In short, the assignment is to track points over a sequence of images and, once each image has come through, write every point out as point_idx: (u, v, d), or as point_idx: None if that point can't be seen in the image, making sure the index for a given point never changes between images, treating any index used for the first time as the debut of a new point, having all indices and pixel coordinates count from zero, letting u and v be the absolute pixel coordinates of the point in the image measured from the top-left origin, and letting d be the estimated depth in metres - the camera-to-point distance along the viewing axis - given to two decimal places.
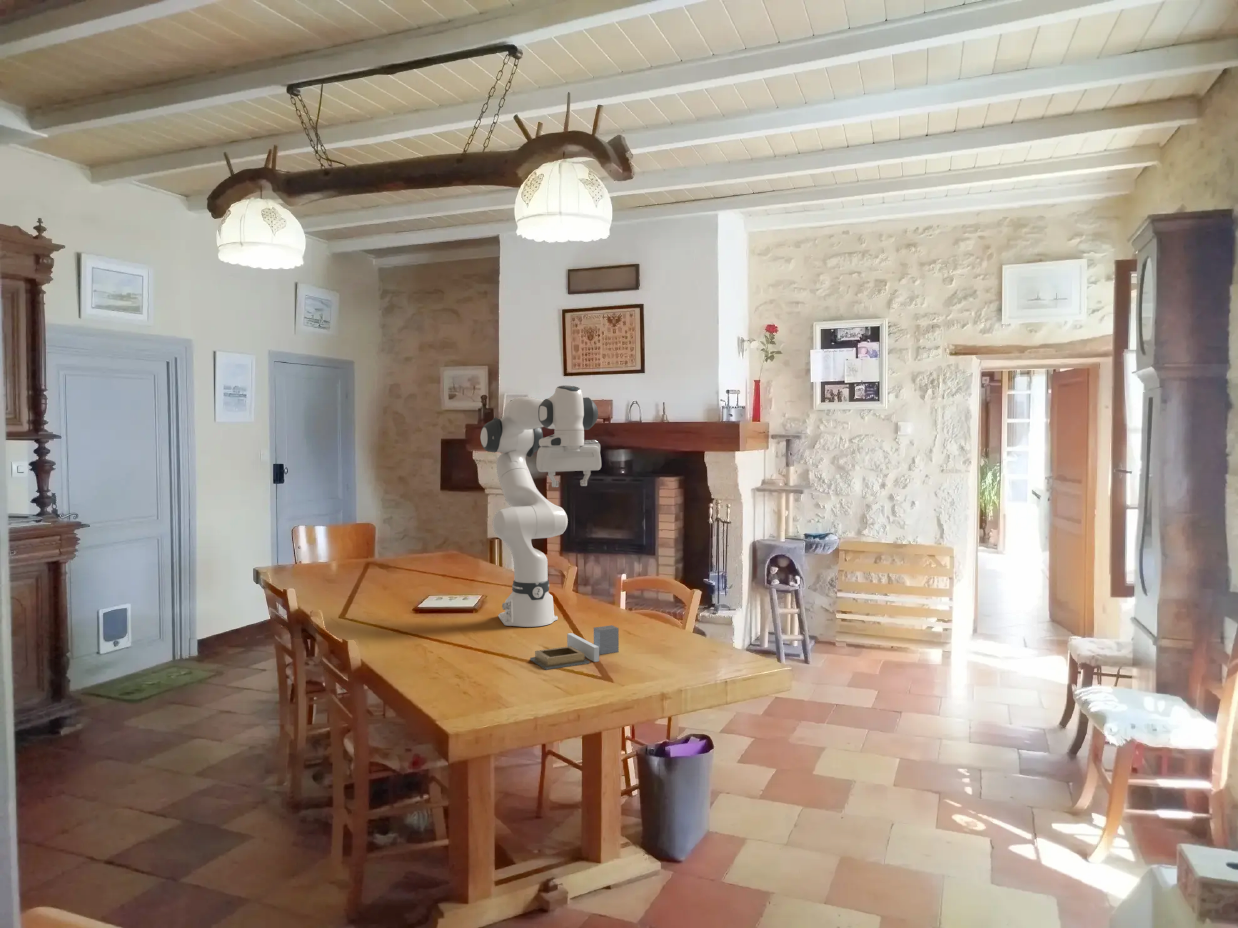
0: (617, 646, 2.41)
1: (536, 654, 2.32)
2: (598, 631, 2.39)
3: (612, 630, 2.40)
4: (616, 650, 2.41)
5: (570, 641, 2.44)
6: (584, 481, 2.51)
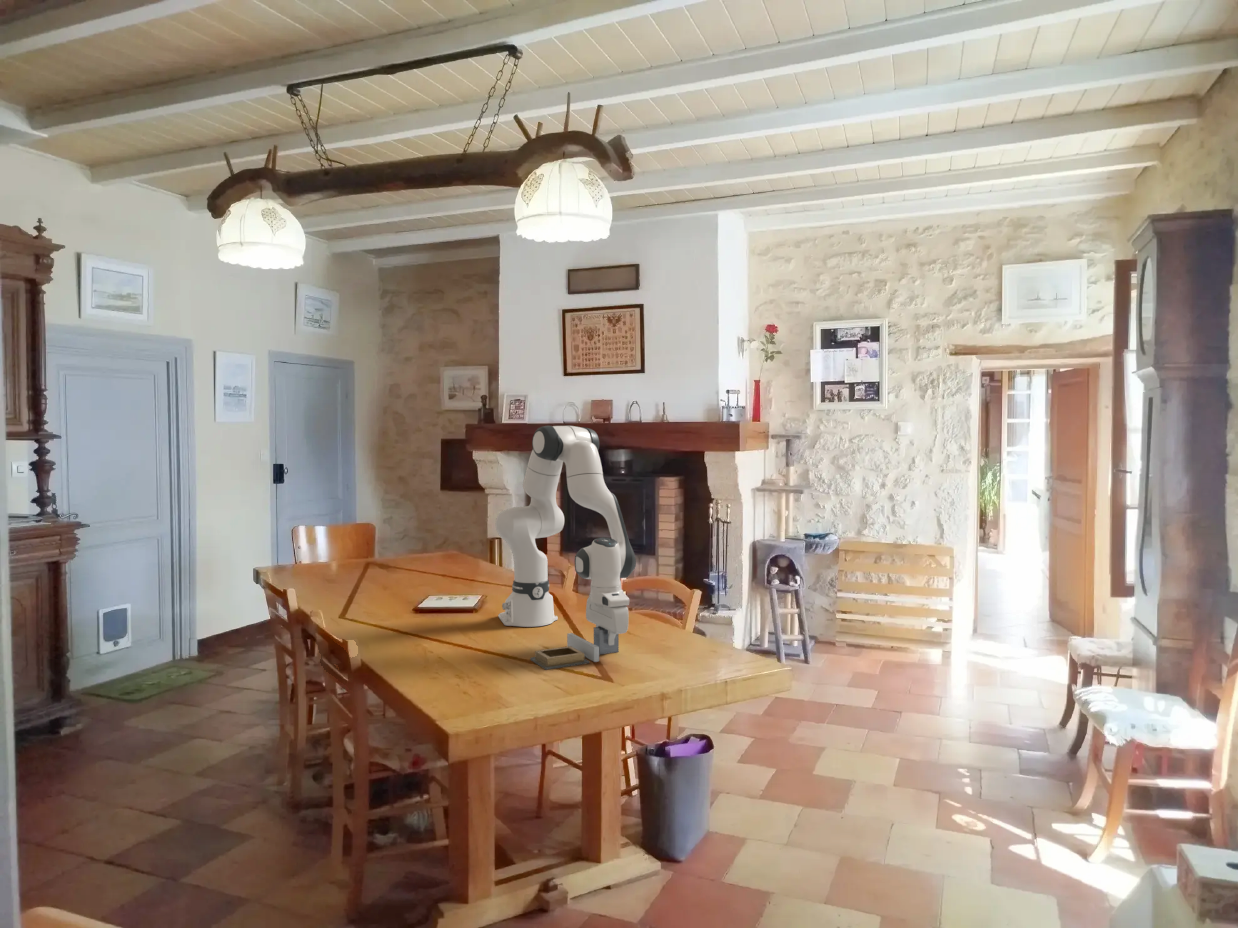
0: (617, 646, 2.41)
1: (536, 654, 2.32)
2: (598, 631, 2.39)
3: None
4: (616, 650, 2.41)
5: (570, 641, 2.44)
6: None
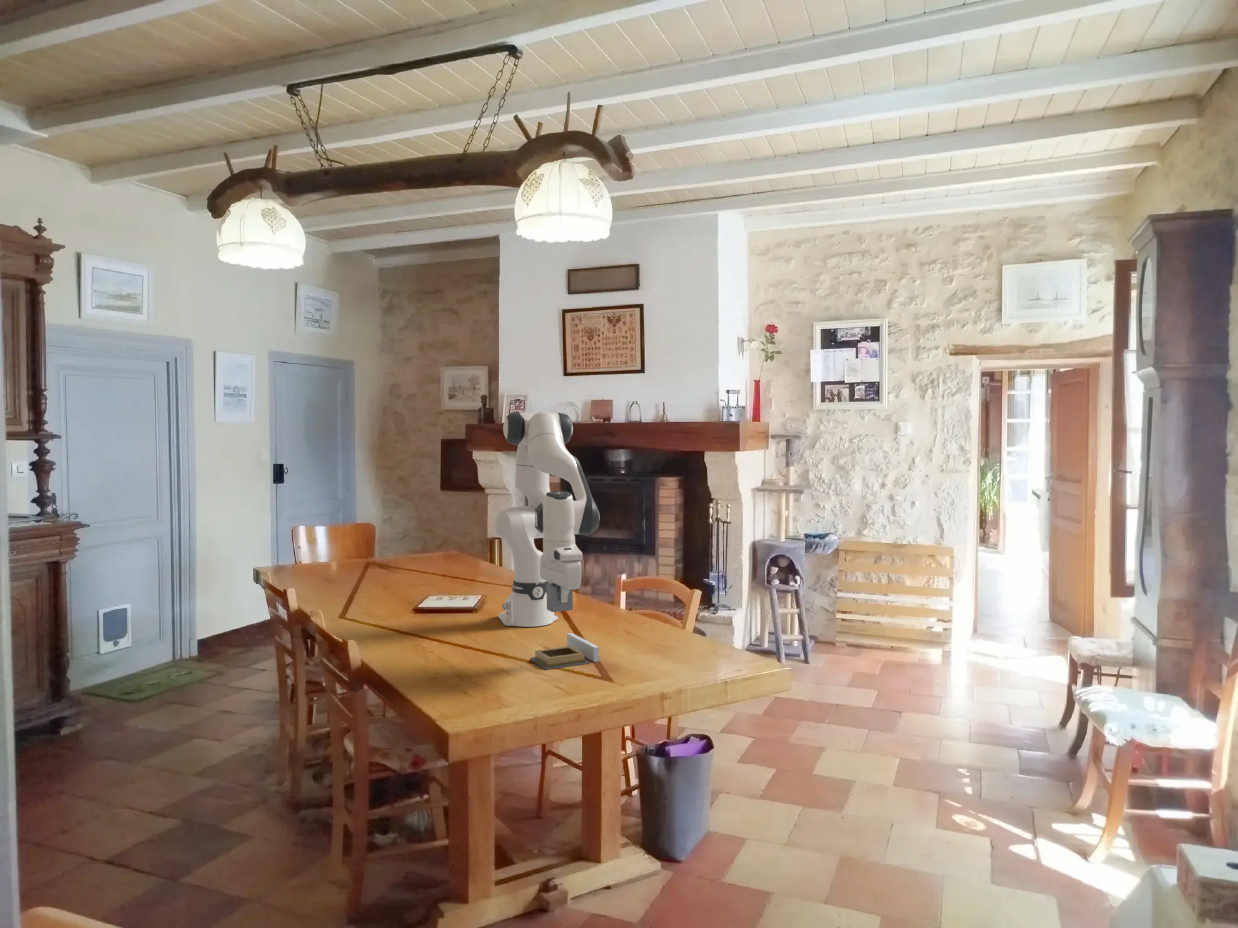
0: (571, 604, 2.30)
1: (536, 654, 2.32)
2: (551, 587, 2.28)
3: None
4: (570, 608, 2.30)
5: (570, 641, 2.44)
6: None
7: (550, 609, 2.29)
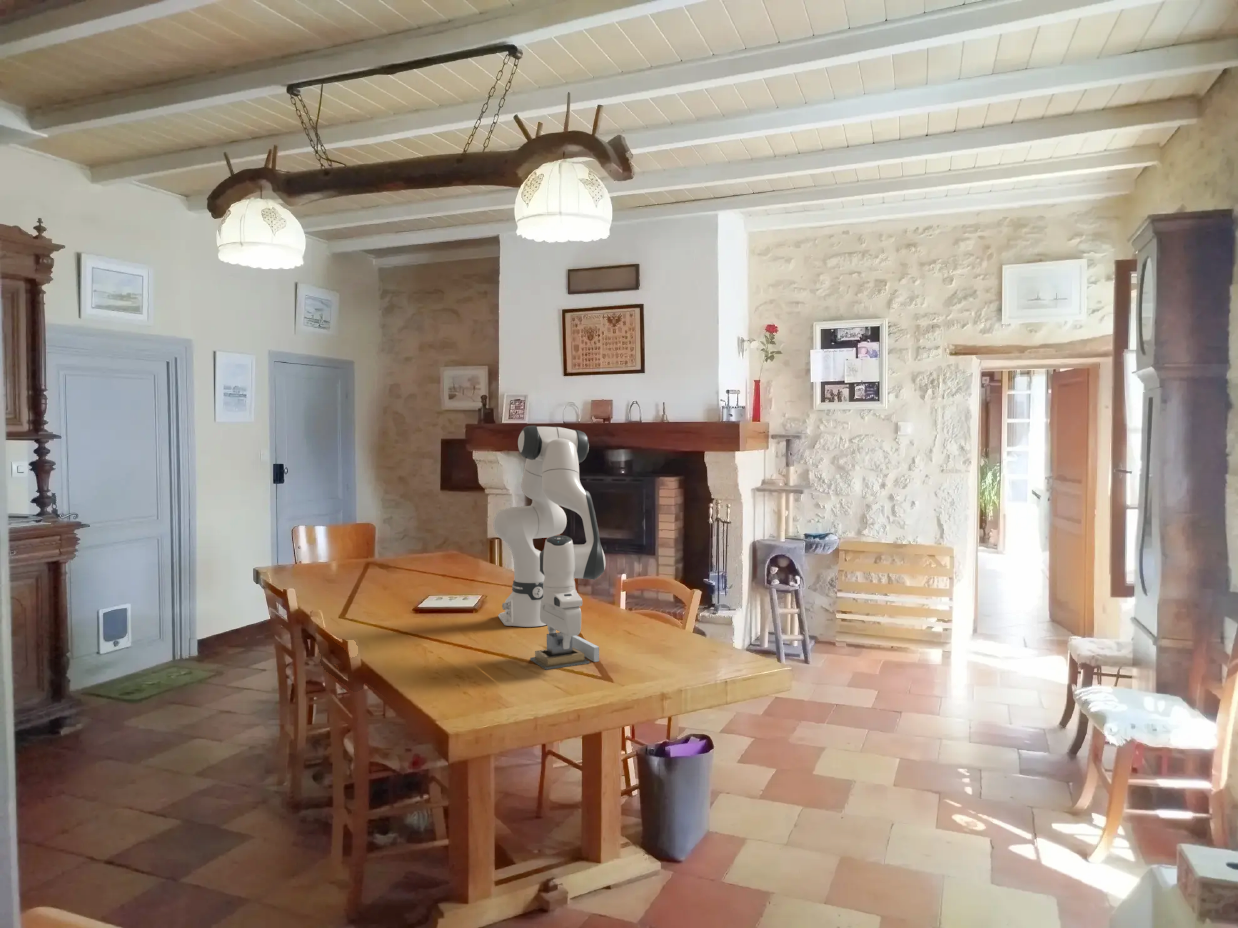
0: (571, 653, 2.31)
1: (536, 654, 2.32)
2: (551, 638, 2.29)
3: None
4: None
5: None
6: None
7: None
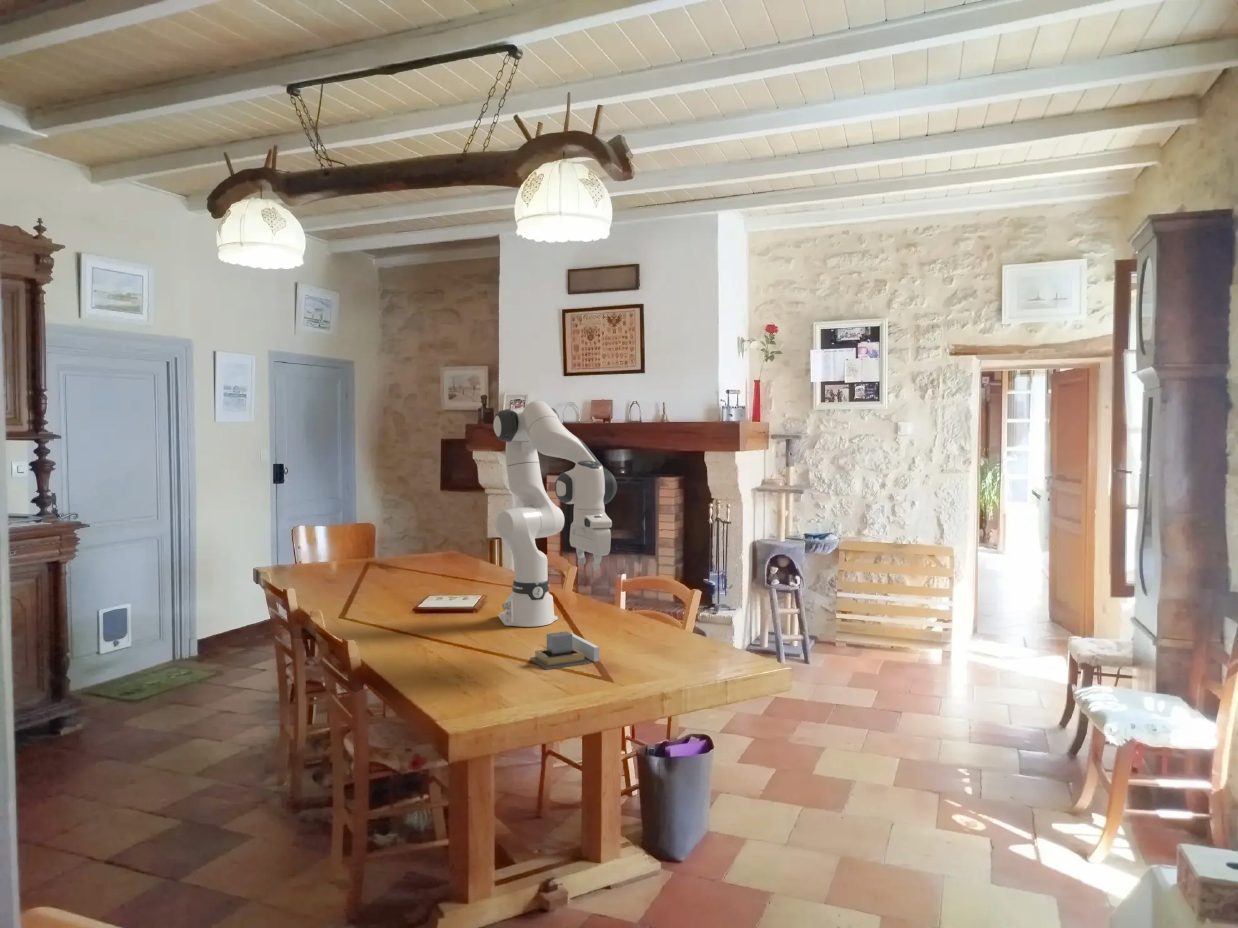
0: (571, 653, 2.31)
1: (536, 654, 2.32)
2: (551, 638, 2.29)
3: (565, 637, 2.30)
4: None
5: None
6: None
7: None
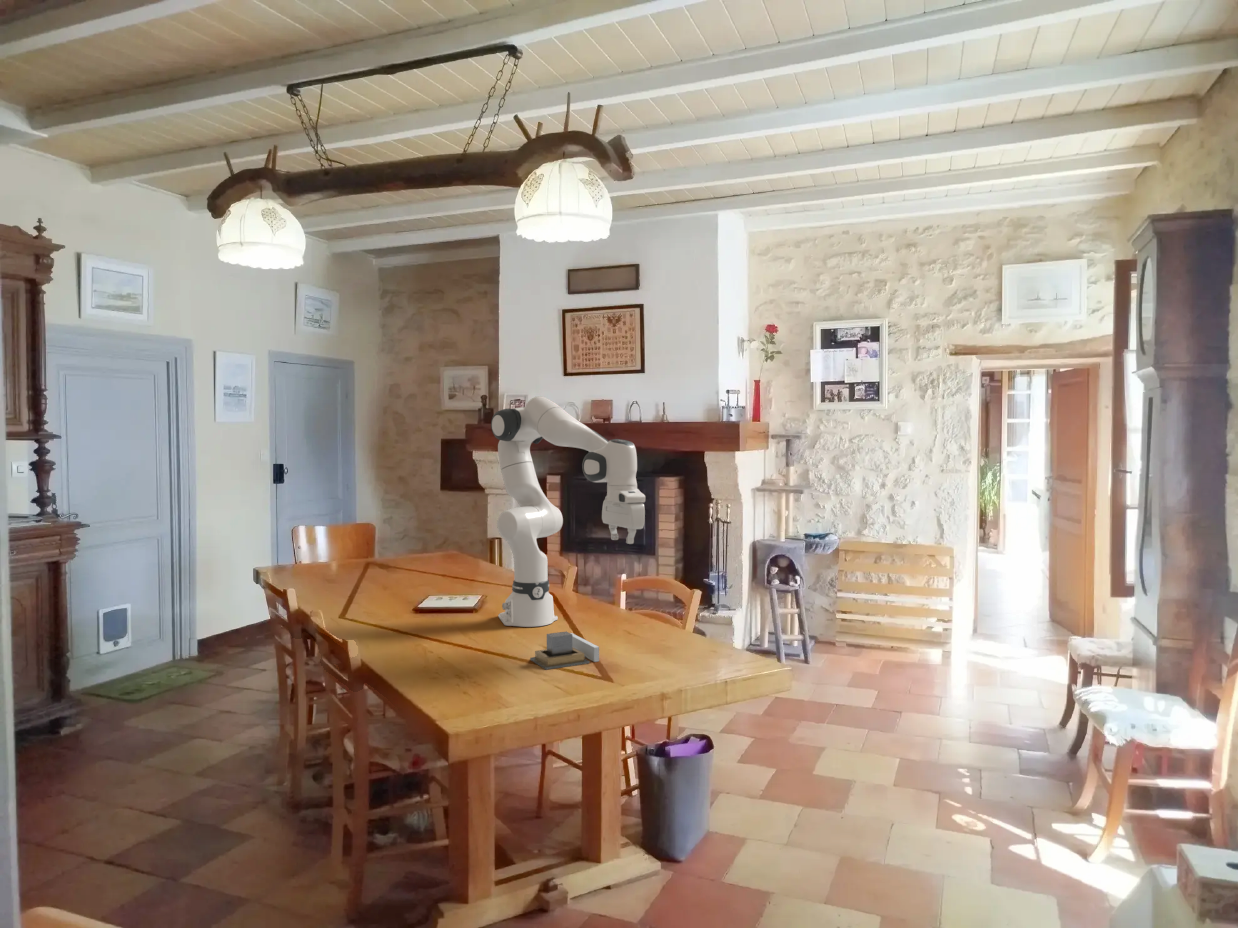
0: (571, 653, 2.31)
1: (536, 654, 2.32)
2: (551, 638, 2.29)
3: (565, 637, 2.30)
4: None
5: None
6: None
7: None
